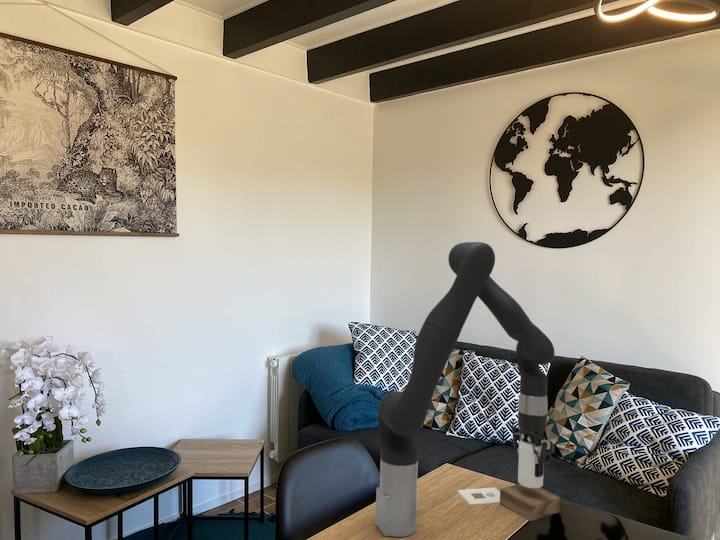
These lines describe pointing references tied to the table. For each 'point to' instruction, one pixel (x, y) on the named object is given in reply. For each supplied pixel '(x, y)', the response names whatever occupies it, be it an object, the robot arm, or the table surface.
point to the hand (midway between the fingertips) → (530, 471)
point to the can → (528, 466)
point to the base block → (529, 501)
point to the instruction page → (480, 495)
